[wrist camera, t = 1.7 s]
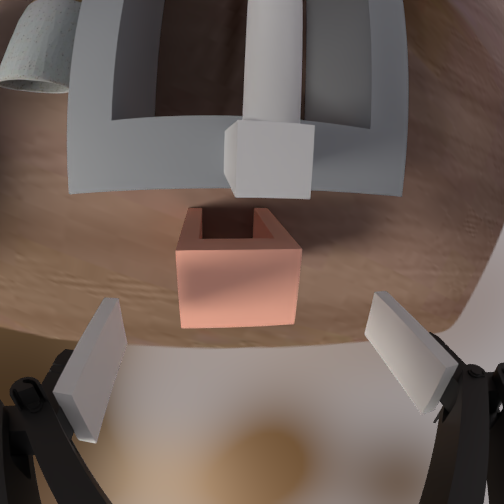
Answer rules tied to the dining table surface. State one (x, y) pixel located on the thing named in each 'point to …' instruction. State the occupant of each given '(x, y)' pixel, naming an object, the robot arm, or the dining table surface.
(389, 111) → the gray square frame
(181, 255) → the coral u-channel block
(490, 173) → the dining table surface
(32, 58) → the ceramic mug
